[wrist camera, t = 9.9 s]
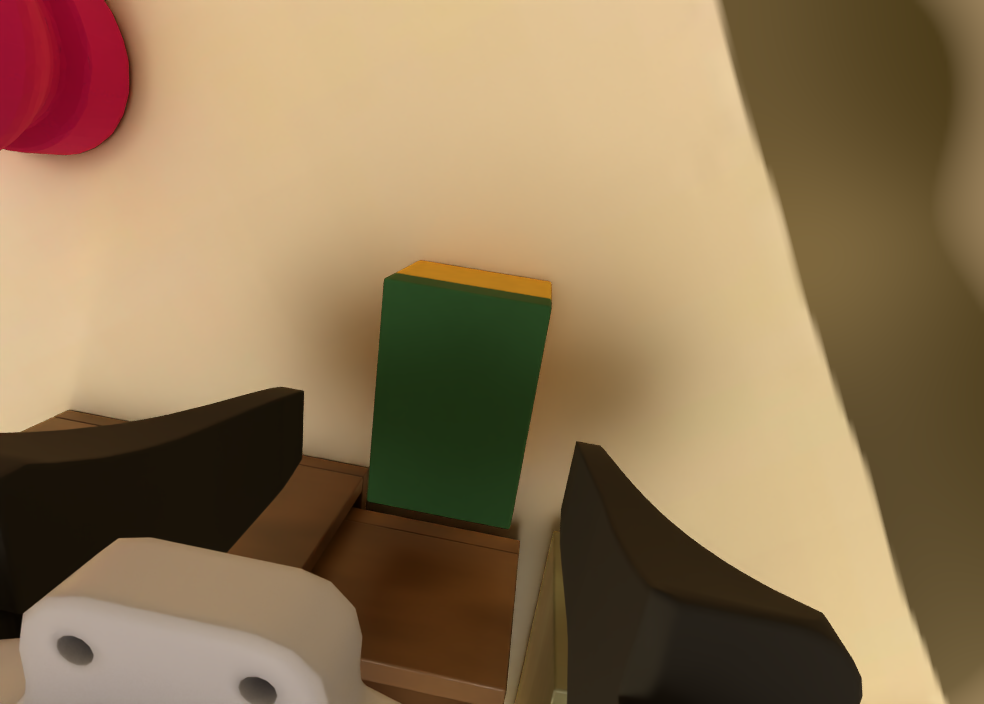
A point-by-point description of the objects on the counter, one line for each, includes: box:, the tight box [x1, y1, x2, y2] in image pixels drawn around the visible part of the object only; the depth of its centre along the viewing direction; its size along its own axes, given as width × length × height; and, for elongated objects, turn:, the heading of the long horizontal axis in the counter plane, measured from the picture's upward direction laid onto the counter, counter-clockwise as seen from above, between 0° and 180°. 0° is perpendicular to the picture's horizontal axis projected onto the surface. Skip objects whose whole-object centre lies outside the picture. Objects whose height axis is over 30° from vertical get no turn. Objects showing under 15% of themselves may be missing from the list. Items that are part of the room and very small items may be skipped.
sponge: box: [367, 260, 552, 529], centre depth 17 cm, size 5×8×4 cm, turn 171°
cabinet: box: [22, 410, 369, 572], centre depth 19 cm, size 13×12×8 cm
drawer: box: [310, 507, 568, 704], centre depth 19 cm, size 17×11×7 cm, turn 81°
